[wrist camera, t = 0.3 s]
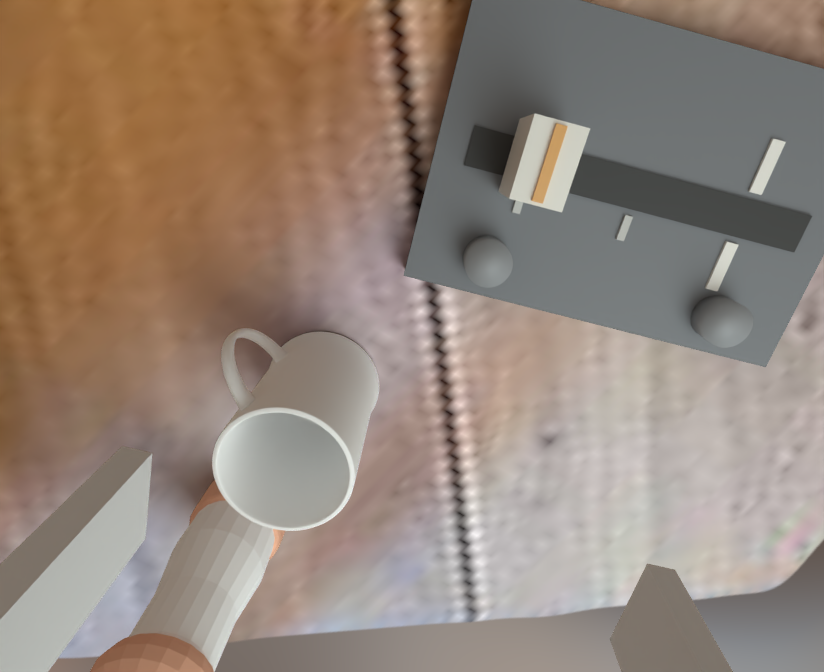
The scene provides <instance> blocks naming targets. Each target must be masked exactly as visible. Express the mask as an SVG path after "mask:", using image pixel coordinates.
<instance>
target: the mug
mask: <svg viewBox="0 0 824 672" xmlns="http://www.w3.org/2000/svg"><path fill="white" fill-rule="evenodd" d="M237 338H246V339H249V340H251V341H253V342H255V343H257V344H258V345H260V346H261V347H262V348H263V349H265V350H266V351H267V352H268V353H269V354H270V356H271V357H272V359H273V360H272V362H271V364H270V368H269V369H268V371H267V372H266V373H265V375H264V376H263V377H262V379H261V380H260V381H259V383H258V384H257V385H256V387H255V388H254V389H253V391H252V392H251V393H250V391H249V390H248V389H247V387H246V386H245V384H244V382H243V380H242V378H241V376H240V374H239V371H238V368H237V365H236V361H235V356H234V345H235V341H236V339H237ZM221 363H222V369H223V373H224V377H225V380H226V382H227V385H228V387H229V390H230V392H231V394H232V396H233V397H234V399H235V401H236V403H237V405H238V408H239V410H238V411H237V412H236V414H235V415H234V416H233V418H232V419H231V420H230V422H229V423H228V424H227V426H226V427H225V428H224V430H223V431H222V433H221V434H220V436H219V438H218V440H217V442H216V444H215V447H214V451H213V456H212V469H213V475H214V479H215V482H216V484H217V486H218V489H219V490H220V492H221V494H222V495H223V497H224V498H225V500H226V501H227V502H228V503H229V504H230V505H231V506H232V507H233V508H234V509H235V510H236V511H237V512H238V513H240V514H241V515H242V516H244V517H245V518H247V519H249V520H250V521H252V522H254V523H257V524H259V525H262V526H264V527H268V528H272V529H277V530H285V531H297V530H305V529H309V528H313V527H316V526H319V525H321V524H323V523H325V522H327V521H329V520H330V519H332V518H333V517H334V516H336V515H337V514H338V513H339V512H340V511H341V510H342V509H343V507H344V506H345V505H346V503H347V502H348V500H349V498H350V496H351V493H352V490H353V487H354V483H355V479H356V475H357V471H358V466H359V462H360V458H361V453H362V449H363V445H364V441H365V436H366V432H367V428H368V423H369V419H370V415H371V412H372V411H373V409H374V407H375V405H376V402H377V399H378V395H379V378H378V373H377V370H376V368H375V365H374V363H373V361H372V360H371V358H370V357H369V355H368V354H367V353H366V352H365V351H364V350H363V349H362V348H361V347H360V346H359V345H358V344H356V343H355V342H353V341H352V340H350V339H348V338H346V337H344V336H342V335H339V334H335V333H330V332H310V333H305V334H302V335H299V336H297V337H295V338H293V339H291V340H289V341H288V342H287V343H285V344H284V345H283V346H282V347H280V346H279V345H278V344H277V343H276V342H275V341H273V340H272V339H271V338H270V337H268V336H267V335H265V334H263V333H262V332H260V331H257V330H255V329H251V328H241V329H238V330H235V331H234V332H232V333H231V334H230V335H228V337H227V338H226V339H225V341H224V343H223V346H222V350H221Z"/></svg>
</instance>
